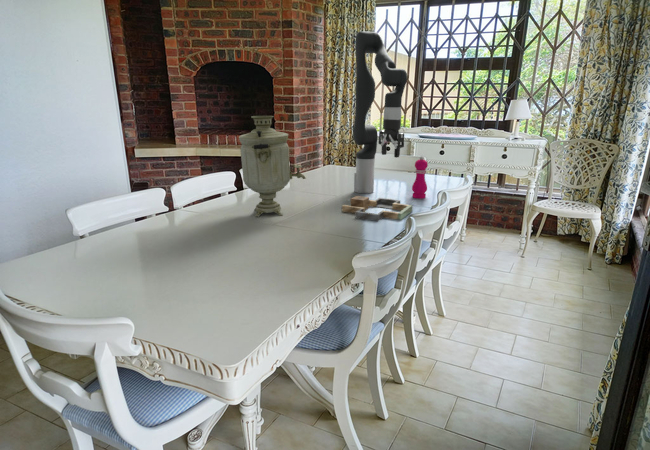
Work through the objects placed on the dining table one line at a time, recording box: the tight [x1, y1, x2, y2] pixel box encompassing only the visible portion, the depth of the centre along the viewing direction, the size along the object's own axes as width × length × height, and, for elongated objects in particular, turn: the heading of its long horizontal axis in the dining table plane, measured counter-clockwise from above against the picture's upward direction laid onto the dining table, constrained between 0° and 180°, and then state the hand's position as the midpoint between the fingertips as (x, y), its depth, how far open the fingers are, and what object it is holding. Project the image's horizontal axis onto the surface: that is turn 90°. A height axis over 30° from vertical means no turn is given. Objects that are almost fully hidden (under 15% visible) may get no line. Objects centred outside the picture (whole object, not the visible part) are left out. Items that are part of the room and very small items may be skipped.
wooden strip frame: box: [341, 197, 413, 222], centre depth 182 cm, size 26×27×2 cm
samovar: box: [238, 115, 307, 218], centre depth 173 cm, size 30×26×40 cm
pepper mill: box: [411, 155, 429, 200], centre depth 203 cm, size 7×7×20 cm
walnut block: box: [350, 195, 370, 211], centre depth 186 cm, size 6×6×5 cm
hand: (390, 155), depth 186 cm, fingers open, 8 cm apart
